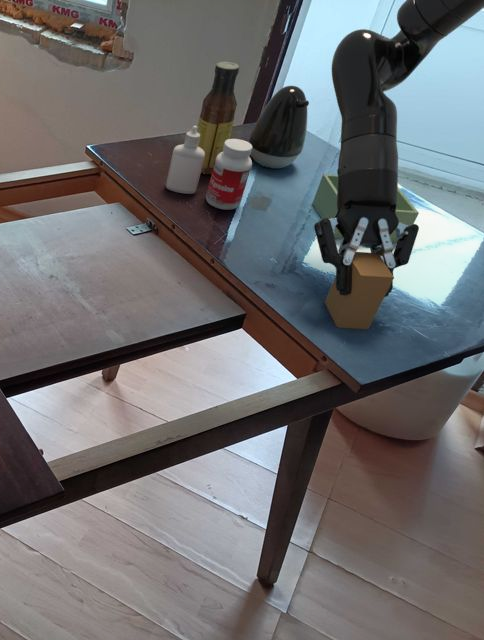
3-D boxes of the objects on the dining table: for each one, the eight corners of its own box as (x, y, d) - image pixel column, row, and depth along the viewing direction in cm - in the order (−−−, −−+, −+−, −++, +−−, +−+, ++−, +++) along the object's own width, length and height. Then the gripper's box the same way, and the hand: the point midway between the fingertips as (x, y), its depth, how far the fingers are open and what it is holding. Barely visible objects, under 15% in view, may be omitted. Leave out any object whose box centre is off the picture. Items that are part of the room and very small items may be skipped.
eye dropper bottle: (185, 198, 124) (200, 135, 116) (161, 186, 127) (174, 124, 119) (200, 191, 126) (215, 128, 118) (175, 180, 129) (189, 118, 121)
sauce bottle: (222, 165, 135) (249, 61, 122) (221, 179, 131) (250, 73, 118) (188, 160, 136) (212, 57, 123) (187, 174, 132) (211, 68, 119)
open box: (378, 207, 125) (391, 178, 122) (404, 243, 116) (419, 212, 112) (312, 203, 125) (323, 173, 121) (332, 238, 116) (345, 207, 112)
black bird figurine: (260, 176, 132) (284, 98, 122) (235, 153, 140) (256, 77, 130) (306, 173, 135) (334, 96, 125) (279, 150, 142) (303, 76, 132)
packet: (354, 304, 102) (378, 252, 96) (368, 329, 97) (394, 277, 91) (324, 302, 102) (346, 250, 96) (336, 327, 97) (360, 275, 91)
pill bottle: (198, 200, 124) (212, 142, 116) (217, 191, 127) (233, 133, 120) (227, 214, 120) (244, 155, 113) (246, 204, 124) (264, 146, 116)
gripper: (328, 162, 92) (324, 287, 91) (434, 169, 92) (431, 295, 91) (305, 180, 100) (301, 296, 98) (402, 186, 100) (399, 303, 98)
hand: (364, 295), depth 95 cm, fingers closed on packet, 4 cm apart
